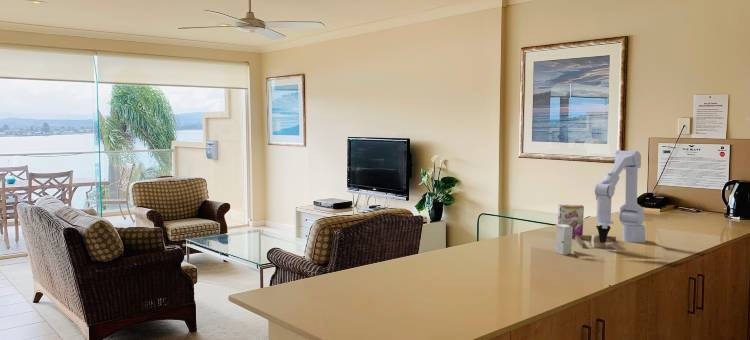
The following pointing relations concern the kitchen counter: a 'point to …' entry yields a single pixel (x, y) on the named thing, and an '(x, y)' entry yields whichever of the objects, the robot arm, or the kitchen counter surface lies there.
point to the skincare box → (563, 239)
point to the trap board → (587, 239)
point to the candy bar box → (571, 217)
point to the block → (597, 241)
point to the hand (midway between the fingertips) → (602, 242)
